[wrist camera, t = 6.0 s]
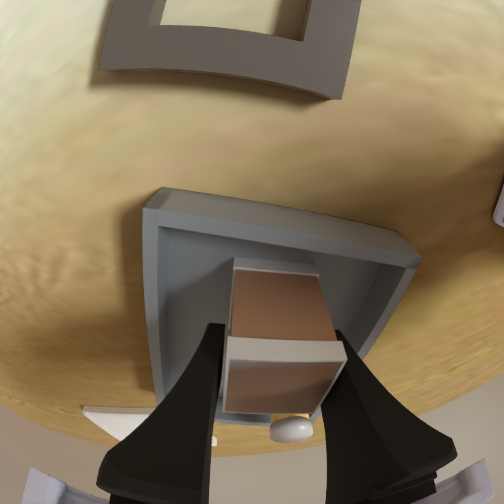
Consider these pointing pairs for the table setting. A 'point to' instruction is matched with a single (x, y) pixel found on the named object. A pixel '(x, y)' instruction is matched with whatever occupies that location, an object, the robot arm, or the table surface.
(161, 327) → the parts tray
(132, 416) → the external hard drive
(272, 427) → the cylinder
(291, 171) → the table surface
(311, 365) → the block
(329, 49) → the grey square frame
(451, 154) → the table surface
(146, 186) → the table surface
